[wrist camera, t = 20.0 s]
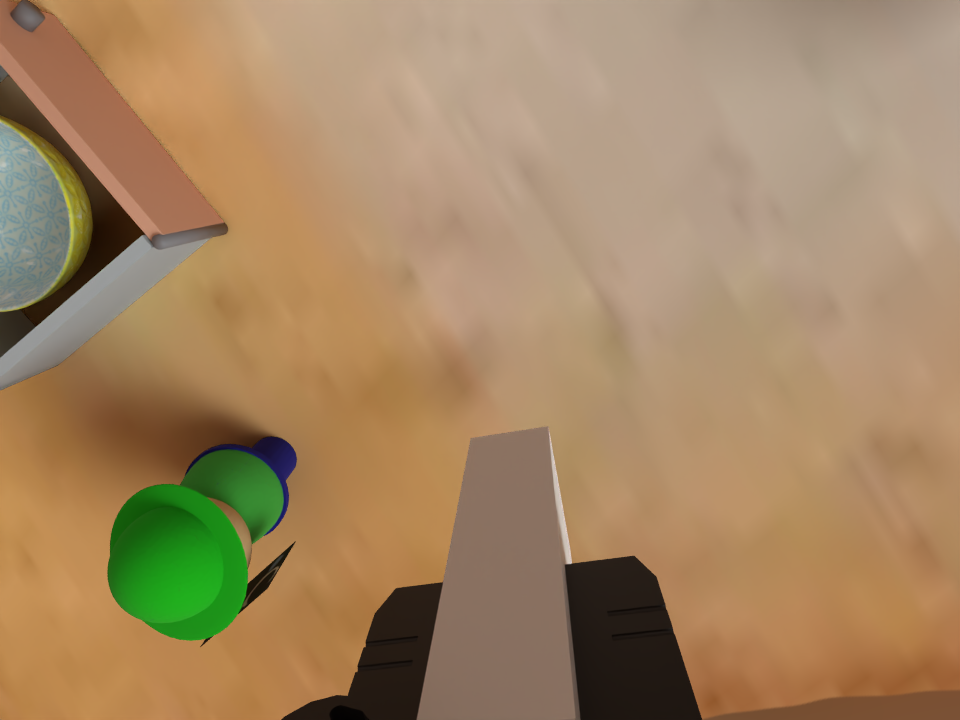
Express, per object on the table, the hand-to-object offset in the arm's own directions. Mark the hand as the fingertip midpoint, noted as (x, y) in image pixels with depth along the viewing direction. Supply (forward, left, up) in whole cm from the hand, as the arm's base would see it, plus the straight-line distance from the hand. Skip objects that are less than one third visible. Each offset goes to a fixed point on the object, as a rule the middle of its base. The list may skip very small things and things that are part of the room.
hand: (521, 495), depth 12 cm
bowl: (+23, -21, -30) cm, 43 cm away
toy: (+24, +1, -30) cm, 38 cm away
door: (+14, -21, -29) cm, 38 cm away
